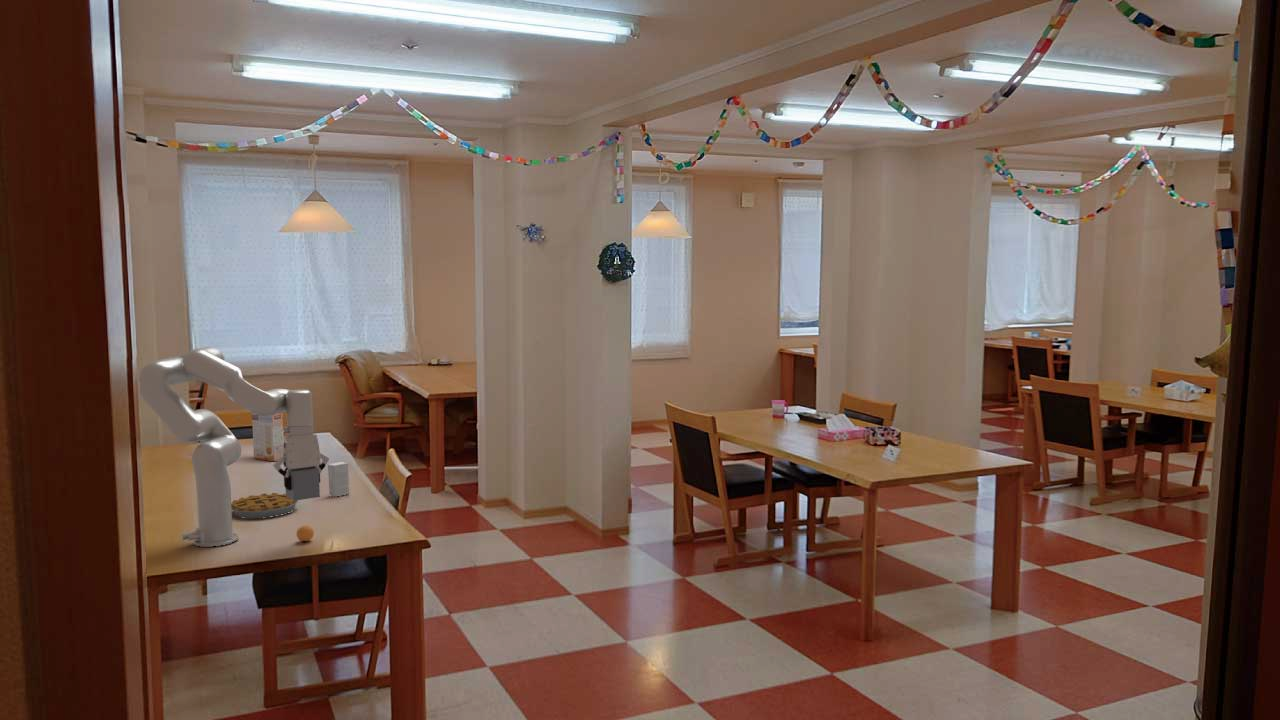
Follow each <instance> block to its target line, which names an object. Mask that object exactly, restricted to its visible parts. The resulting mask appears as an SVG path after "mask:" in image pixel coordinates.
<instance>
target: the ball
mask: <svg viewBox="0 0 1280 720" xmlns="http://www.w3.org/2000/svg"><path fill="white" fill-rule="evenodd" d="M314 533H315V532H314V529H313V528H312V526H310V525H306V524H305V525H301V526H300V527H298V528H297V531H296V538H297V539H298V540H299V541H300V542H302V541H307V542H309V541H311V540H312V539H313V537H314ZM310 539H311V540H310ZM308 540H309V541H308Z"/></svg>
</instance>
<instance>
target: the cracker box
mask: <svg viewBox="0 0 1280 720" xmlns="http://www.w3.org/2000/svg"><path fill="white" fill-rule="evenodd" d="M283 413H284V412H282V413H279V414H276V415H273V416H270V417H262V416H258V415H256V414H253V413H251V418H252V421H251V422H252V423H251V424H252V446H253V459H254V460H261V461H266V460H267V461H268V462H272V461H275V462H277V461H278V460H279V459H281V458H282V457H283V449H284V441H285V437H284V433H283V432H282V429H284V419H283V418H284V414H283ZM267 461H266V462H267Z"/></svg>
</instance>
